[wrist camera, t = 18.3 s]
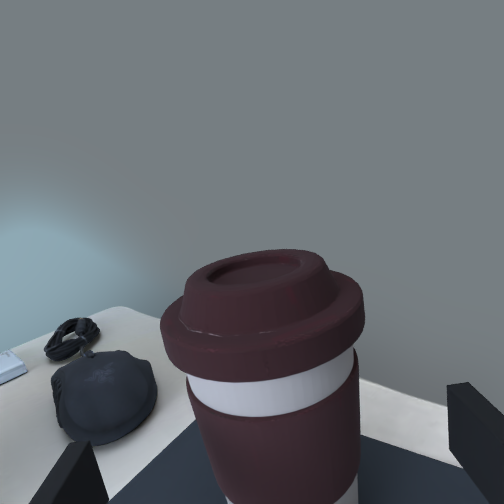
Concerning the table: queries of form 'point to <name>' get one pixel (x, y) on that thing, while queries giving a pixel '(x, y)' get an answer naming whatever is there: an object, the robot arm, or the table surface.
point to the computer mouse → (98, 386)
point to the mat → (369, 477)
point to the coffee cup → (273, 375)
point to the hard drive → (10, 366)
